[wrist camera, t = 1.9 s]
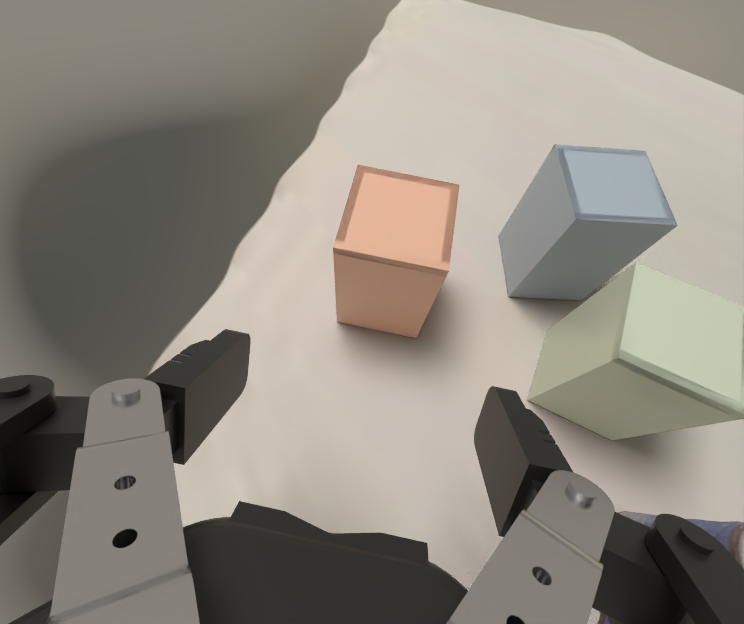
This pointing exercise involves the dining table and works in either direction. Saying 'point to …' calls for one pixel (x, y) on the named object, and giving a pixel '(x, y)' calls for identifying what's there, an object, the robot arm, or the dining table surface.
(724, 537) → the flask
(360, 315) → the peach pink block
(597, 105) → the dining table surface
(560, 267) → the blue grey bevelled block
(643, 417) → the pale green bevelled block
